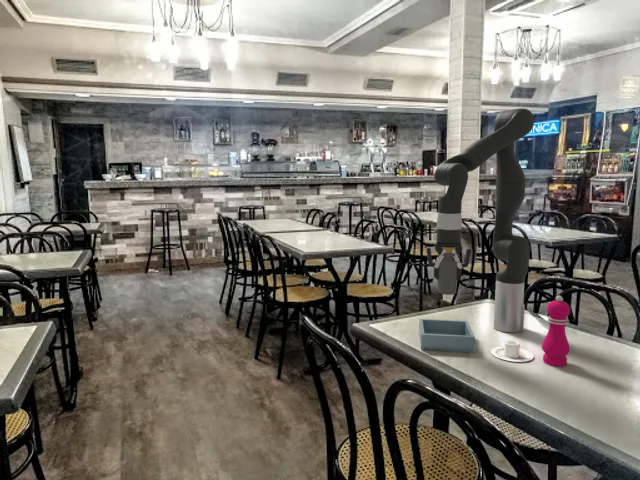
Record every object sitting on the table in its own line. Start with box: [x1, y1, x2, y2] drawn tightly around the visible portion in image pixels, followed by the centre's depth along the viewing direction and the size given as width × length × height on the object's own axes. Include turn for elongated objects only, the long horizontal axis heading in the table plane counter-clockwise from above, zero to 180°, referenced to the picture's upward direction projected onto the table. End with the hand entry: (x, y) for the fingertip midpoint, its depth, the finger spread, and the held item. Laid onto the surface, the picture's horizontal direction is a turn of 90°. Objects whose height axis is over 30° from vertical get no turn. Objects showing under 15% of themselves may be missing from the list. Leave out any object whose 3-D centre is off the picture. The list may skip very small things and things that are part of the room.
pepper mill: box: [541, 295, 571, 367], centre depth 137 cm, size 7×7×20 cm
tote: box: [418, 318, 476, 354], centre depth 155 cm, size 16×16×5 cm
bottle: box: [437, 247, 458, 296], centre depth 152 cm, size 6×6×15 cm
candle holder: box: [490, 340, 534, 363], centre depth 144 cm, size 12×12×4 cm
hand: (447, 279), depth 152 cm, fingers closed on bottle, 6 cm apart
